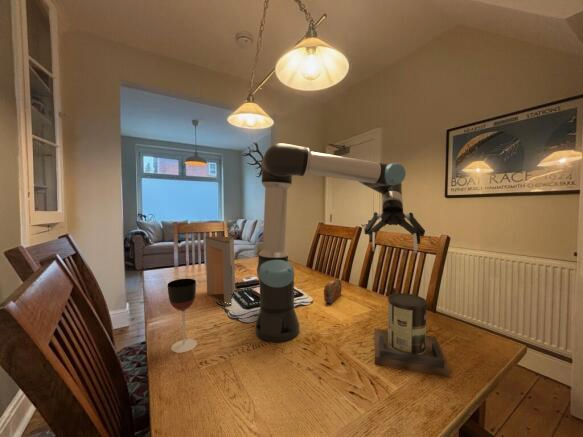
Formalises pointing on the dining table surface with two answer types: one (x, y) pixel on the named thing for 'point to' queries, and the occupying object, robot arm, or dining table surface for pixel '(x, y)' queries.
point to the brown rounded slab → (332, 291)
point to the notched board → (411, 356)
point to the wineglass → (182, 308)
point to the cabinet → (220, 268)
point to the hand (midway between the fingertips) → (394, 250)
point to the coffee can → (407, 323)
